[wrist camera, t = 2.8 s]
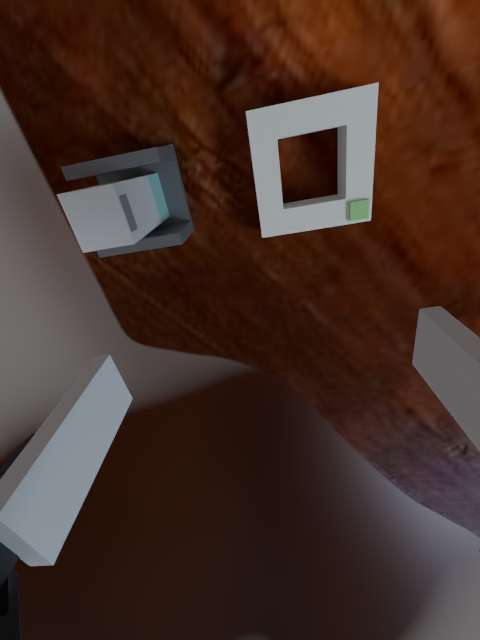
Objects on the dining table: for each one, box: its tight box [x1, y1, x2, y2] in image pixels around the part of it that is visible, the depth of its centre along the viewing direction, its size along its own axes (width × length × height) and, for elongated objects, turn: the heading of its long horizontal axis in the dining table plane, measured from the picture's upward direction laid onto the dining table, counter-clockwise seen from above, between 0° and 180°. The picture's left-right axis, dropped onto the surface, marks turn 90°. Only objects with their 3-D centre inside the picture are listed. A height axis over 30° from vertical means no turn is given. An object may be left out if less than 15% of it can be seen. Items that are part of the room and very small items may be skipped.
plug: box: [57, 173, 170, 253], centre depth 24 cm, size 4×4×10 cm
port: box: [246, 82, 379, 238], centre depth 26 cm, size 10×10×3 cm
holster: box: [61, 144, 195, 258], centre depth 27 cm, size 8×8×6 cm
